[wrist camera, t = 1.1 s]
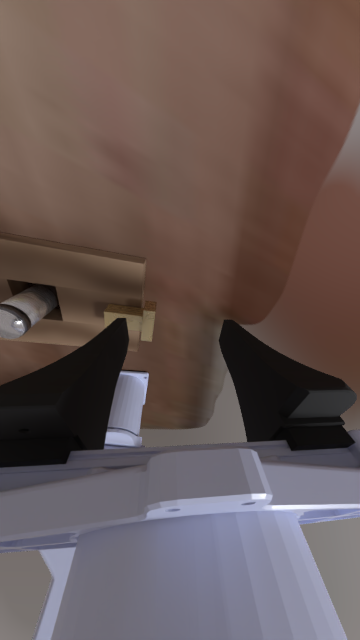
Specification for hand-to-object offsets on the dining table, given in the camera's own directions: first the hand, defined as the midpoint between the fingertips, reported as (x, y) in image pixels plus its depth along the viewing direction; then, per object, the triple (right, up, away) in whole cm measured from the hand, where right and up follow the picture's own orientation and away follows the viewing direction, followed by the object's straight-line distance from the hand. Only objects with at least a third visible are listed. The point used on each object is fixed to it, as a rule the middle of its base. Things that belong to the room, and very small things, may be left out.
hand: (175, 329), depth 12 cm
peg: (-15, +4, +8) cm, 18 cm away
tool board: (-16, +4, +7) cm, 18 cm away
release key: (-5, +1, +7) cm, 9 cm away
